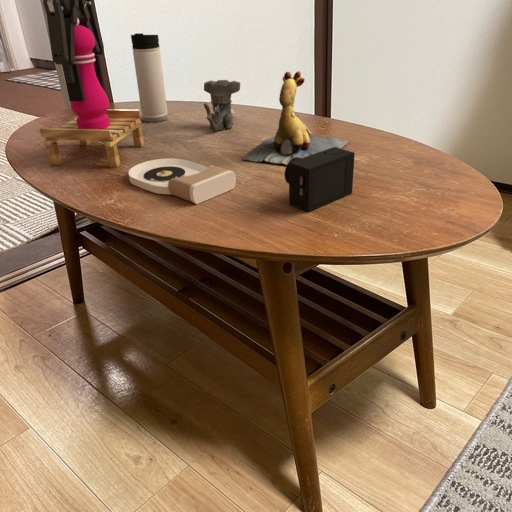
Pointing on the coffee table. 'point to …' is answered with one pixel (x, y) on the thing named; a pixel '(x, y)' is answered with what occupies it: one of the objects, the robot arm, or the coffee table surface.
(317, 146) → the stuffed giraffe
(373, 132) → the coffee table surface
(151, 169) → the record player
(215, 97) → the grey flared upright piece
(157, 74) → the travel mug
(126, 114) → the rack
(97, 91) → the pepper mill
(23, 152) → the coffee table surface
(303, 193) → the digital camera
